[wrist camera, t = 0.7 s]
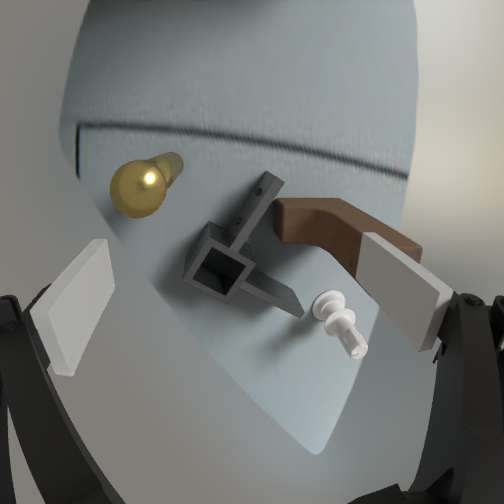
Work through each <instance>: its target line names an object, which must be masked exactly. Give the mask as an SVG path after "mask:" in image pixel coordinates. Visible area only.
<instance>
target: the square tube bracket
mask: <svg viewBox="0 0 504 504" xmlns="http://www.w3.org/2000/svg"><path fill="white" fill-rule="evenodd" d="M284 183H285V182H284V181H282V180H281V179H279V178H278V177H276V176H274V175H273V174H271V173H270V172H268V171H266V172H265V174H264V175H263V177H262V178H261V180H260V181H259V183H258V184H257V186H256V187H255V189H254V190H253V192H252V193H251V195H250V196H249V198H248V199H247V201H246V202H245V204H244V205H243V207H242V208H241V210H240V211H239V213H238V214H237V216H236V217H235V219H234V220H233V222H232V223H231V225H230V226H229V228H228V230H227V231H226V230H224V229H222V228H220V227H219V226H217V225H215V224H213V223H212V222H210V221H209V223H208V224H207V226H206V227H205V229H204V231H203V232H202V234H201V236H200V237H199V239H198V240H197V242H196V244H195V245H194V247H193V249H192V250H191V252H190V254H189V255H188V257H187V259H186V262H185V267H184V273H183V279H182V281H183V282H185V283H187V284H189V285H191V286H193V287H195V288H197V289H199V290H201V291H202V292H204V293H206V294H208V295H210V296H212V297H214V298H216V299H218V300H220V301H222V302H224V303H227V304H228V303H229V302H230V301H231V299H232V298H233V296H234V295H235V293H236V292H237V291H238V289H239V288H241V289H243V290H244V291H246V292H248V293H250V294H252V295H254V296H256V297H258V298H260V299H262V300H264V301H266V302H268V303H270V304H272V305H274V306H276V307H278V308H280V309H282V310H284V311H286V312H288V313H290V314H292V315H294V316H296V317H298V318H301V316H302V315H303V314H304V313H305V312H304V310H303V308H302V306H301V304H300V302H299V300H298V298H297V297H296V295H295V293H294V291H293V289H291V288H289V287H287V286H286V285H284V284H282V283H280V282H278V281H276V280H275V279H273V278H271V277H269V276H267V275H266V274H264V273H262V272H260V271H258V270H256V269H255V268H254V266H255V265H256V264H257V263H256V261H255V258H254V255H253V252H252V249H251V247H250V244H248V243H246V242H245V241H246V239H247V238H248V236H249V235H250V233H251V232H252V230H253V229H254V227H255V226H256V224H257V223H258V222H259V220H260V219H261V217H262V216H263V214H264V213H265V211H266V210H267V208H268V207H269V205H270V204H271V202H272V201H273V199H274V198H275V196H276V195H277V194H278V192H279V191H280V189H281V188H282V186H283V185H284ZM212 247H213V248H215V249H217V250H219V251H220V252H222V253H224V254H226V255H228V256H229V257H231V258H233V259H232V261H231V262H230V264H229V265H228V267H227V268H226V270H225V271H224V273H222V272H220V271H218V270H216V269H214V268H212V267H210V266H209V265H207V264H205V263H203V260H204V259H205V257H206V255H207V254H208V252H209V251H210V249H211V248H212Z"/></svg>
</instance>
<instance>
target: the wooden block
mask: <svg viewBox="0 0 504 504" xmlns="http://www.w3.org/2000/svg"><path fill="white" fill-rule="evenodd" d="M274 231H275V233H276V235H277V236H278V238H279V239H280V241H281V242H282V243H305V244H309V245H313V246H317V247H321V248H322V249H324V250H326V251H327V252H329V253H330V254H331V255H332V256H333V257H334V258H335V259H336V260H337V261H338V262H339V263H340V264H341V265H342V266H343V268H344V269H345V270H346V271H347V272H348V273H349V274H350V275H351V276H352V277H353V278H354V279H355V277H356V272H357V266H358V260H359V254H360V248H361V241H362V235H363V232H375V233H376V234H378V235H379V236H381V237H382V238H383V239H385V240H386V241H388V242H389V243H391V244H392V245H393V246H395V247H396V248H398V249H399V250H401V251H402V252H403V253H405V254H406V255H407V256H409V257H410V258H412V259H413V260H414V261H416V262H417V263H418V264H420V260H421V255H422V247H421V246H420V245H419V244H417V243H415V242H414V241H412V240H411V239H409V238H407V237H406V236H404V235H402V234H401V233H399V232H398V231H396V230H394V229H393V228H391V227H389V226H388V225H386V224H384V223H382V222H381V221H379V220H377V219H376V218H374V217H372V216H370V215H369V214H367V213H365V212H363V211H362V210H360V209H358V208H356V207H355V206H353V205H351V204H349V203H347V202H345V201H343V200H342V199H340V198H277V199H276V200H275V209H274ZM355 280H356V279H355ZM356 282H357V283H358V284H359V282H358V281H357V280H356ZM359 285H360V284H359ZM360 286H361V285H360ZM361 287H362V286H361ZM362 288H363V287H362ZM363 289H364V288H363ZM364 290H365V289H364ZM365 291H366V290H365ZM366 292H367V291H366ZM367 294H368V292H367ZM368 295H369V294H368ZM369 296H370V295H369ZM370 297H371V296H370ZM371 298H372V297H371Z"/></svg>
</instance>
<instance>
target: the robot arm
mask: <svg viewBox="0 0 504 504" xmlns="http://www.w3.org/2000/svg"><path fill="white" fill-rule="evenodd" d="M355 279H356V280H357V281H358V282H359V284H360V285H361V286H362V287H363V288H364V289H365V290H366V291H367V292H368V294H369V295H370V296H371V297H372V298H373V299H374V300H375V301H376V303H377V304H378V305H379V306H380V307H381V308H382V309H383V311H384V312H385V313H386V314H387V315H388V316H389V317H390V319H392V321H393V322H394V323H395V324H396V326H397V327H398V328H399V329H400V330H401V331H402V333H403V334H404V335H405V336H406V337H407V339H409V341H410V342H411V343H412V344H413V345H414V347H415V348H416V349H417V350H418V352H421V351H425V350H428V349H432V347H433V345H434V343H435V340H436V338H437V336H438V337H439V339H440V340H441V341H442V342H441V344H440V347H439V349H438V351H437V354H436V356H435V358H434V360H433V363H435V361H436V360H438V362H437V372H436V381H435V389H434V396H433V402H432V408H431V414H430V420H429V425H428V430H427V435H426V439H425V444H424V448H423V452H422V457H421V460H420V464H419V468H418V471H417V474H416V477H415V480H414V482H413V484H412V485H411V487H410V489H409V490H408V491H401V490H400V488H399V486H398V484H394V485H392V486H389V487H387V488H384V489H381V490H379V491H376V492H373V493H370V494H367V495H364V496H361V497H358V498H357V499H355V500H353V501H351V502H350V503H348V504H504V349H503V350H502V349H501V345H502V343H503V341H504V296H499V295H498V296H496V297H495V300H494V302H493V305H492V306H485V303H484V301H483V300H482V299H480V298H479V297H477V296H475V295H472V294H467V293H465V294H464V293H463V294H460V295H458V294H457V293H456V292H454V291H453V290H452V289H451V288H450V287H448V286H447V285H446V284H445V283H443V282H442V281H441V280H439V279H438V278H437V277H435V276H434V275H433V274H432V273H430V272H429V271H428V270H426V269H425V268H424V267H422V266H421V265H420V264H418V263H417V262H416V261H414V260H413V259H412V258H410V257H409V256H407V255H406V254H405V253H403V252H402V251H401V250H399V249H398V248H396V247H395V246H393V245H392V244H391V243H389V242H388V241H386V240H385V239H383V238H382V237H381V236H379V235H378V234H376V233H375V232H363V235H362V241H361V248H360V254H359V260H358V266H357V272H356V277H355ZM114 290H115V284H114V279H113V273H112V268H111V262H110V256H109V249H108V243H107V239H93V240H92V241H91V242H90V243H89V244H88V245H87V246H86V247H85V248H84V249H83V250H82V252H81V253H80V254H79V255H78V256H77V257H76V258H75V259H74V260H73V261H72V262H71V263H70V264H69V266H68V267H67V268H66V269H65V270H64V271H63V272H62V273H61V274H60V275H59V277H58V278H57V279H56V280H55V281H54V282H53V283H52V284H49V285H48V286H46V287H45V288H43V289H42V290H41V291H40V293H38V295H37V297H35V298H34V299H33V300H32V302H31V303H30V304H29V306H27V308H26V309H25V310H24V311H23V313H22V311H21V308H20V305H19V302H18V299H17V298H16V296H13V295H5V296H1V297H0V504H16V499H15V493H14V488H13V481H12V474H11V466H10V457H9V443H8V419H7V418H8V416H7V408H8V407H9V411H10V414H11V417H12V421H13V424H14V427H15V431H16V434H17V437H18V440H19V443H20V446H21V448H22V451H23V454H24V456H25V459H26V461H27V464H28V466H29V469H30V471H31V474H32V476H33V478H34V480H35V483H36V485H37V487H38V489H39V491H40V493H41V495H42V497H43V499H44V501H45V504H126V503H125V502H124V501H123V499H122V498H121V497H120V496H119V494H118V493H117V492H116V490H115V489H114V488H113V486H112V485H111V484H110V482H109V481H108V479H107V478H106V477H105V475H104V474H103V472H102V471H101V469H100V468H99V466H98V465H97V463H96V462H95V461H94V459H93V457H92V456H91V454H90V453H89V451H88V449H87V448H86V446H85V444H84V443H83V441H82V439H81V437H80V436H79V434H78V432H77V431H76V429H75V427H74V425H73V423H72V421H71V420H70V418H69V416H68V414H67V412H66V410H65V408H64V406H63V404H62V402H61V400H60V398H59V396H58V394H57V391H56V389H55V387H54V385H53V383H52V380H51V378H50V376H49V374H48V372H47V368H48V366H49V364H50V363H51V365H52V367H53V369H54V371H55V373H56V374H59V375H65V376H73V375H74V373H75V370H76V368H77V365H78V363H79V361H80V359H81V356H82V354H83V352H84V350H85V348H86V346H87V344H88V341H89V339H90V337H91V335H92V333H93V331H94V328H95V327H96V325H97V322H98V321H99V319H100V317H101V314H102V313H103V311H104V309H105V307H106V305H107V303H108V301H109V299H110V297H111V295H112V293H113V291H114ZM7 406H8V407H7Z"/></svg>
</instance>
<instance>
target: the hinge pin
mask: <svg viewBox="0 0 504 504" xmlns="http://www.w3.org/2000/svg"><path fill="white" fill-rule="evenodd" d="M182 170H183V160H182V158H181V157H180V155H178V154H177V153H174V152H167V153H164V154H161V155H159V156H156V157H153V158H151V159H148V160H135V161H131V162H128V163H126V164H124V165H122V166H121V167H120V168H119V169H118V170H117V171H116V172H115V174H114V175H113V178H112V180H111V184H110V195H111V199H112V201H113V203H114V205H115V206H116V208H117V209H118V210H119V211H120V212H121V213H123V214H124V215H126V216H129V217H133V218H142V217H146V216H149V215H151V214H152V213H154V212H155V211H156V210H157V209H158V208H159V207H160V205H161V204H162V202H163V200H164V198H165V195H166V191H167V189H168V188H169V187H170V185H171V184H172V183H173V182H174V181H175V179H176V178H177V177H178V176H179V174H180V173H181V172H182Z"/></svg>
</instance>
